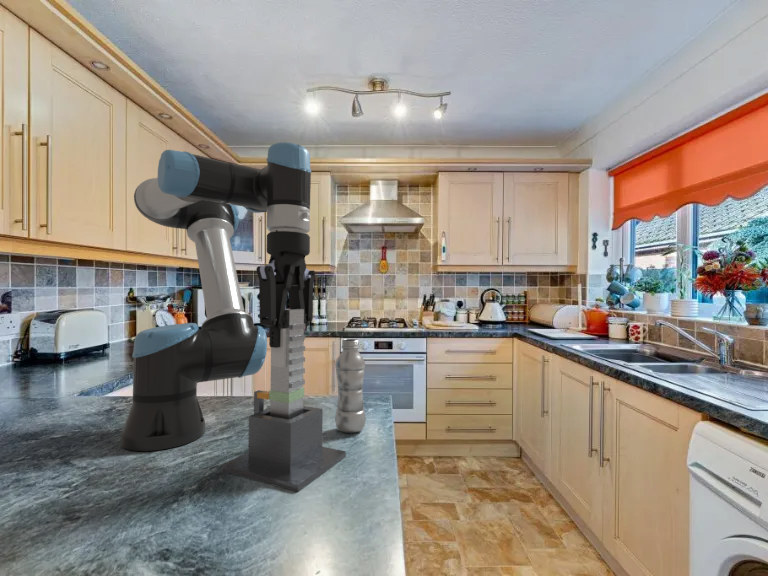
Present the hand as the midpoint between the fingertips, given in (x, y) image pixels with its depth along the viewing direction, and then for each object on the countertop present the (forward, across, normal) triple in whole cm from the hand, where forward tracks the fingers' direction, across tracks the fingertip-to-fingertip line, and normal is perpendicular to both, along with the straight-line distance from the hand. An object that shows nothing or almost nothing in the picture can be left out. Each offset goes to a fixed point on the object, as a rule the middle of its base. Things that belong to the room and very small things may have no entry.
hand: (287, 363), depth 68 cm
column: (+10, 0, 0) cm, 10 cm away
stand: (+18, 0, 0) cm, 18 cm away
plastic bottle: (+18, +19, -2) cm, 26 cm away
